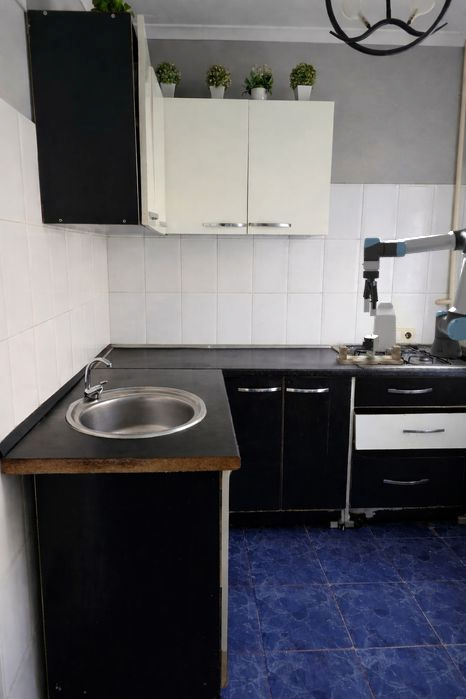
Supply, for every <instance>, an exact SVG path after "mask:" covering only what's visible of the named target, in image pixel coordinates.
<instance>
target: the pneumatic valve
mask: <svg viewBox="0 0 466 699" xmlns="http://www.w3.org/2000/svg"><path fill="white" fill-rule="evenodd" d="M378 338H379V336H378V335H373V333H372V334H368V335H366V336H363V341H362V347H361V348H362V349H363V351H366V356H367V357H366V358H367V359H368V358H369V359H373V358H375V356H376V354H375V353H376V351H374V350H375V349H377V348H378V342H379V340H378Z"/></svg>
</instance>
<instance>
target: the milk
mask: <svg viewBox="0 0 466 699" xmlns="http://www.w3.org/2000/svg"><path fill="white" fill-rule="evenodd" d="M373 317H374V318H373V327H372V328H373V329H372V330H373V331H372V335H378V336H379V338H378V340H379V342H378V348H377V349H375V350H374V351H375V352H384V353H385V347H388V348H392V345H397V316H396V312H395V308H394V305H393V303H392V302H391V301H380V302H379V303H378V305H377V308H376V316H373Z"/></svg>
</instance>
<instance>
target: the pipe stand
mask: <svg viewBox="0 0 466 699" xmlns="http://www.w3.org/2000/svg"><path fill="white" fill-rule="evenodd" d="M338 347H339V348H338V355H336V360H337V362H338V363H339V364H340V365H379V364H378V363H381V364H380V365H404V360H403V359H402V358H401V355H402V346H400V345H399V344H398V345H397V344H396V345H392V348H388V347H385V352H384V354H385V355H375V358H373V359H369V358H368V359H367V358H366V357H367V355H355V348H354V347H353V346H351V348H348V347H347V345H339V346H338Z"/></svg>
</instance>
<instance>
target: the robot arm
mask: <svg viewBox="0 0 466 699" xmlns="http://www.w3.org/2000/svg"><path fill="white" fill-rule="evenodd" d="M363 243H364V244H363V262H362V264H361V265H362V266H363V271H362V279H364V286H363V287H364V288H363V294H362V298H363V313H369V315H370V317H374V316H376V309H377V307H378V305H377V303H378V302H379V296H378V281H377V279H379V278H380V266H381V265H380V262H381V261H380V260H381V259H380V258H403V257H405V256H406V255H410V254H411V255H412V254H419V253H420V254H421V253H428V252H429V253H431V252H435V251H436V252H437V251H445V250H450V251H451V252H454V251H455V252H456V251H461V255H462V257H463V260H462V261H463V262H462V265H461V270H460V275H459V278H458V283H457V287H456V291H455V295H454V298H453V304H452V307H451V308H449V309H448V310H437V311H436V312H435V313H436V314H435V323H434V325H435V326H434V337H433V338H434V340H433V342H432V344H431V346H430V349H429V354H430V355H431V356H434V357H437V358H438V357H440V358H449V359H450V358H460V357H462V354H463V353H462V348H461V343H460V342H462V341H466V228H462V229H457V230H451V231H449V232H448V233H446V234H445V233H443V234H435V235H427V236H418V237H411V238H403V239H395V240H394V239H393V240H384V241H381V238H380V237H379V236H377V237H376V236H375V237H373V236H372V237H365V238H364V241H363Z"/></svg>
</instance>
